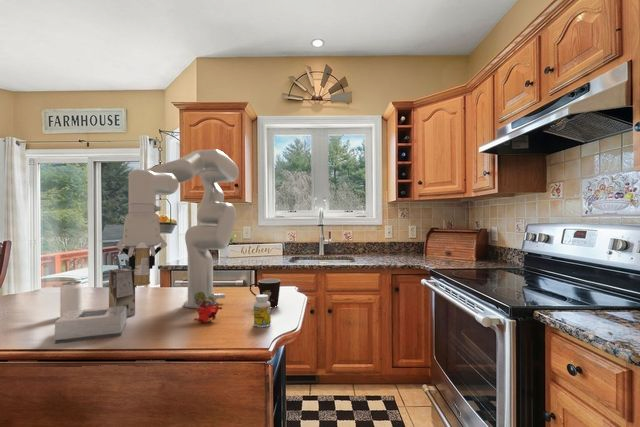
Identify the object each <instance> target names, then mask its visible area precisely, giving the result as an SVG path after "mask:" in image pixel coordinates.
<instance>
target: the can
mask: <svg viewBox="0 0 640 427" xmlns="http://www.w3.org/2000/svg"><path fill="white" fill-rule="evenodd" d="M59 290H60V293H59V296H60V297H59V298H60V300H59V301H60V304H59V305H60V306H59V310H60V311H59V313H60V314H59V315H60V317H61V316H63V315H64V314H65V313H66V312H67V311H74V310H84V286H83V284H82V281H79V280H77V281H76V280H74V281H65V282H62V283H61V286H60V289H59ZM60 317H59V318H60Z"/></svg>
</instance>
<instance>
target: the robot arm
mask: <svg viewBox="0 0 640 427" xmlns="http://www.w3.org/2000/svg"><path fill="white" fill-rule="evenodd" d="M239 175H240V170H239V168H238V166H237V163H235V161H233V160H232V159H231V158H230V157H229V156H228V155H227V154H225V153H224V152H223V151H221V150H219V149H217V148H216V149H214V148H213V149H198V150H194V151H191V152H190V153H188V154H186V155H184V156H182V157H179V158H178V159H175V160H172V161H169V162H168V161H167V162H166V163H163V164H158V165H155V166H151V167H149V168H147V169H133V170H130V171H129V173H128V214H126V215H125V218H124V223H123V235H122V237H121V238H120V240H119V241H118V242H117V243H116V245H115V248H116V249H118V250H120V251H121V252H123V254H126V255H127V257H128V267H129V268H130V269H131V270H134V260H135V248H134V247H136V246H138V244H139V243H145V244H146V246H149V247H150V270H152V269H153V267H154V266H155V265H156V261H155V260H156V255H157V254H158V253H159V252H160V251H161V250H163V249H165V247H168V243H167V242H166V240H165V239H164V238H163V237H162V236H161V224H160V217H159V214H156V212H158V211H159V212H160V211H161V210H162V209H161V208H162V207H161V206H158V205H156V204H157V203H156V202H157V200H156V199H157V198H156V197H157V196H170V195H173V194H175V193H176V192H177V191H178V188H179V184H180V183H185V182H188V181H189V182H190V181H191V180H193V179H194V178H195V177H198V176H199V177H200V181H201V183H202V187H203V196H202V199H201V202H200V205H199V207H198V211H197V214H196V221H197V222H198V223H199V225H193V226H190V227H189V228H187V230H186V231H185V236H184V240H185V244H186V245H185V246H186V252H187V300H185V301H184V302H183V307H185V308H188V309H197V308H198V304H196V302H195V294H196V293H198V292H204V294H205V296H206V298H208V297H209V296H210V297H213V300H214V301H215V303H214V305H213V306H215V305H216V304H218V300H219V299H220V300H221V299H226V294H225V293H221V292H219V293H215V292H214V260H213V255H212V254H211V251H210V250H214V251H216V250H217V251H219V250H221V251H222V250H225V249H226V248H227V247H228V246H229V244H230V242H231V238H232V235H233V231H234V227H235V224H236V220H237V210H236V207H235V206H234V205H233V204H232V203H229V202H224V201H225V193H224V191H223V189H222V188H221V187H220V186H219V183H232V182H236V181H237V180H238V178H239ZM158 245H159V246H158ZM156 246H157V247H156ZM127 247H128V248H127Z"/></svg>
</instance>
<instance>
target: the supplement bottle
mask: <svg viewBox="0 0 640 427" xmlns="http://www.w3.org/2000/svg"><path fill="white" fill-rule="evenodd" d="M267 300H268V295H265V294H261V295H260V294H256V296H255V302H254V304H253V325H254V327H255V326H257V327H256V328H263V327H262V326H267V325H269V326H271V324H270V323H271V321H272V320H271V308H270V302H269V301H267ZM267 327H268V326H267Z"/></svg>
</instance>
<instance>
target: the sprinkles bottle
mask: <svg viewBox="0 0 640 427" xmlns="http://www.w3.org/2000/svg"><path fill="white" fill-rule="evenodd" d="M134 248H135V249H134V256H135V260H134V275H135V276H134V279H135V280H134V285H135V287H136V286H137V287H143V286H149V285H151V281H150V275H151V269H150V254H151V251H150V247H149V246H146V244H145V243H139V244H138V246H136V247H134Z"/></svg>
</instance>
